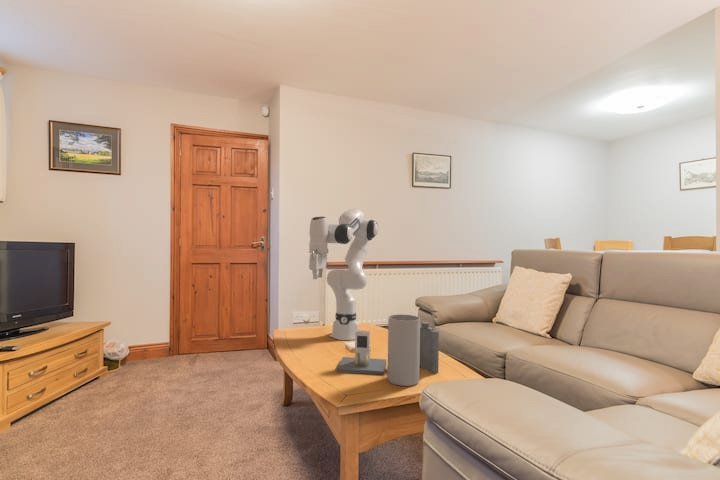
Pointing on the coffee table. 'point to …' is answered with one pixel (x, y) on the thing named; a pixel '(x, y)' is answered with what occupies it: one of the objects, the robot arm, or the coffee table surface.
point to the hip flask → (429, 348)
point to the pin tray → (362, 366)
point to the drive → (362, 346)
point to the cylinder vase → (403, 349)
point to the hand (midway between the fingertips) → (317, 278)
